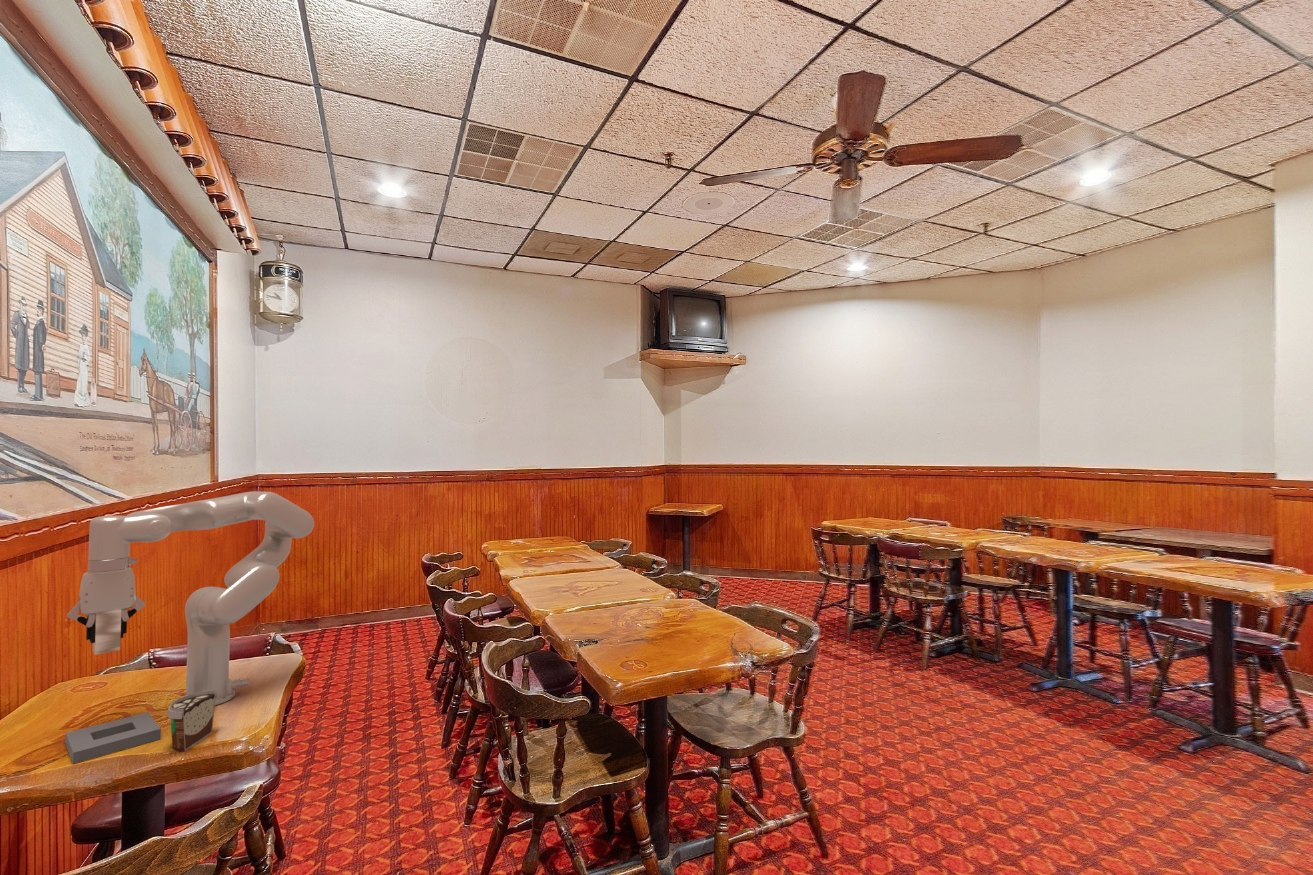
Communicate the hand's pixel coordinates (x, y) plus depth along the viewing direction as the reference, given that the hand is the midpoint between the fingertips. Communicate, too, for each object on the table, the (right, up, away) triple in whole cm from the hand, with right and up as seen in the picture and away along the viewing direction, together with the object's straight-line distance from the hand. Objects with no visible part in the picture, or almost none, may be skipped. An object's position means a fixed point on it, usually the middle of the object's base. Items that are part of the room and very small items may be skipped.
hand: (106, 638), depth 144 cm
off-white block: (0, -3, 0) cm, 3 cm away
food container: (+24, -23, -5) cm, 34 cm away
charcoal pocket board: (+6, -23, -5) cm, 24 cm away
